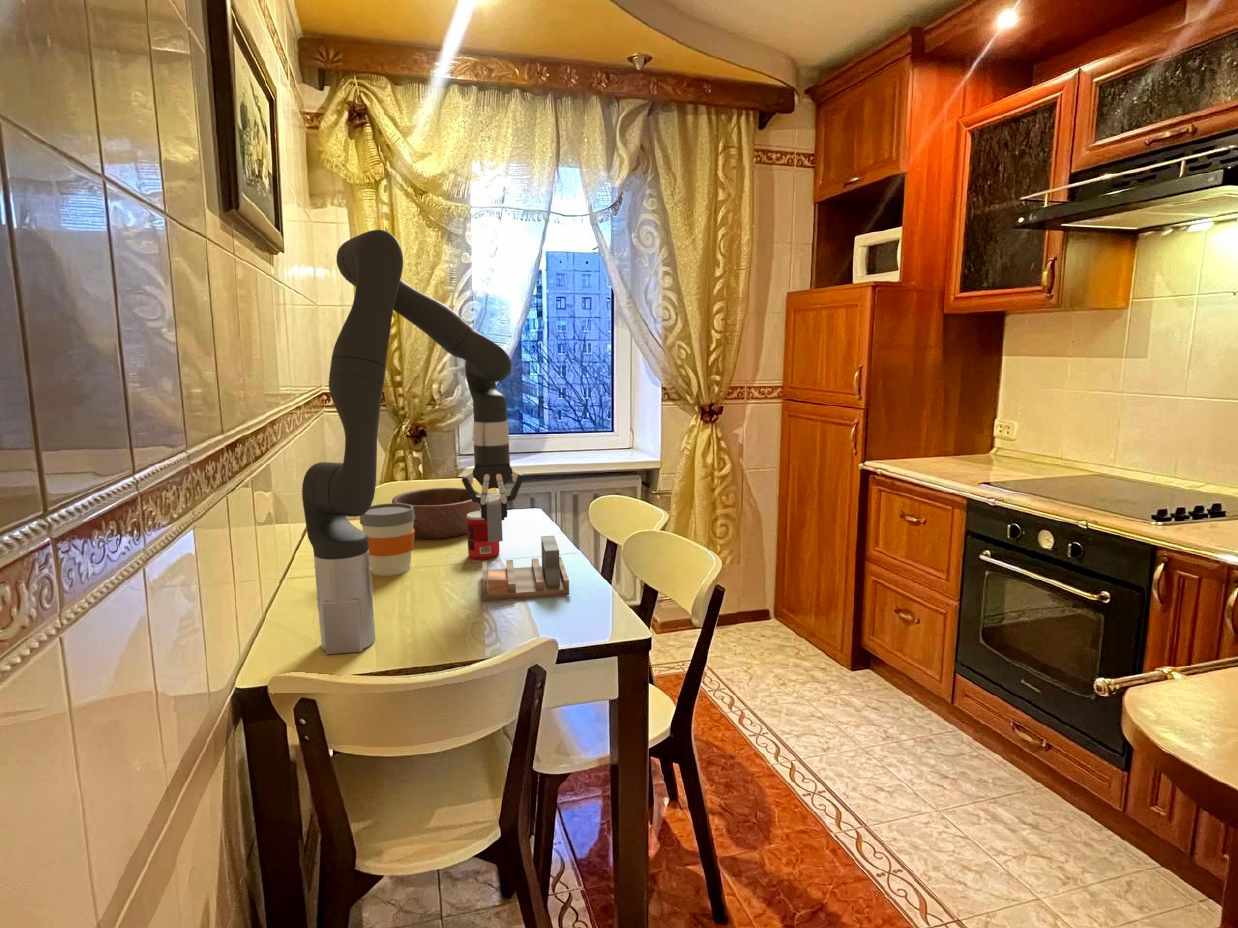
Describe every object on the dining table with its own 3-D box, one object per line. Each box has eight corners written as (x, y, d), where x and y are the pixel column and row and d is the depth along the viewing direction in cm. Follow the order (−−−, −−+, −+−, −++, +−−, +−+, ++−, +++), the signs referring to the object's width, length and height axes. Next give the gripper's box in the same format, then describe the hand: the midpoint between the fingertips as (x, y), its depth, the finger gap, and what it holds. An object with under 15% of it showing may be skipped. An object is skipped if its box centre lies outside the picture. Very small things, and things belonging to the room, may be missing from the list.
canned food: (505, 553, 185) (504, 512, 183) (485, 562, 178) (483, 518, 176) (483, 549, 189) (481, 508, 187) (462, 557, 182) (460, 515, 180)
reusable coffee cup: (402, 579, 166) (398, 516, 163) (352, 576, 168) (348, 514, 165) (427, 563, 178) (423, 504, 175) (380, 560, 180) (376, 502, 178)
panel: (502, 541, 152) (501, 504, 151) (488, 542, 152) (486, 505, 150) (501, 526, 164) (499, 492, 162) (487, 527, 163) (486, 493, 162)
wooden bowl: (410, 520, 221) (408, 487, 219) (491, 520, 220) (489, 487, 218) (380, 542, 197) (378, 506, 195) (471, 542, 196) (469, 506, 194)
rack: (569, 595, 154) (568, 553, 152) (482, 601, 151) (481, 558, 149) (561, 571, 171) (560, 532, 169) (483, 576, 167) (481, 536, 166)
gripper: (457, 445, 149) (461, 526, 152) (525, 443, 152) (527, 522, 155) (458, 440, 157) (462, 517, 160) (523, 438, 159) (525, 514, 162)
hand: (494, 519), depth 157 cm, fingers closed on panel, 3 cm apart
